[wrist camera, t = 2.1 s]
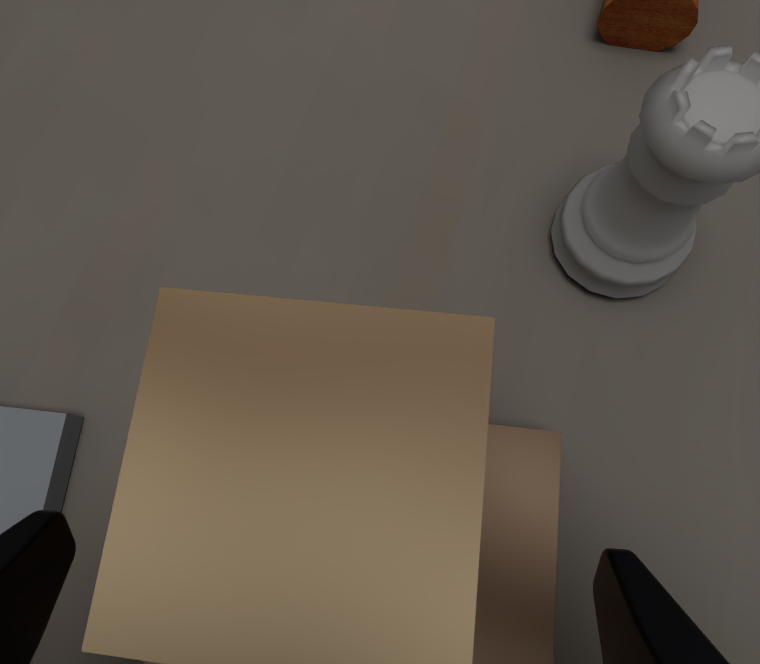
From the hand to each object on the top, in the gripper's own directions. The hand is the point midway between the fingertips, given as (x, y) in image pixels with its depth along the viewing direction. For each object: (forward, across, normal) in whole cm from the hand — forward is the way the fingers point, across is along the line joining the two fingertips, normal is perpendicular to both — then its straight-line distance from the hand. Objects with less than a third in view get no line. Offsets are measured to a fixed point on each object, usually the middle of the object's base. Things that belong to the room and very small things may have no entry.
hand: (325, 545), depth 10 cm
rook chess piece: (+14, -8, 0) cm, 16 cm away
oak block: (+6, 0, +4) cm, 7 cm away
